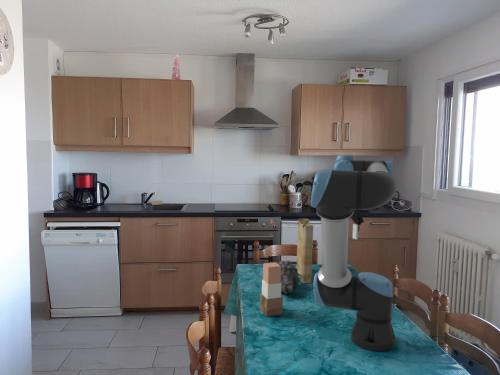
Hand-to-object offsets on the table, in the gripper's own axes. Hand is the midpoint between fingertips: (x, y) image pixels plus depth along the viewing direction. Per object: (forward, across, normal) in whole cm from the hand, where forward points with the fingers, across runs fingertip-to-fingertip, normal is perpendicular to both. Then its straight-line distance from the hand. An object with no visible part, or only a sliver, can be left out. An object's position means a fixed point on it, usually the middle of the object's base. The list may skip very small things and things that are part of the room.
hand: (341, 239), depth 163 cm
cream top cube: (+22, +32, -2) cm, 39 cm away
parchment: (+29, -4, -39) cm, 49 cm away
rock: (+29, +16, -23) cm, 40 cm away
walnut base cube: (+29, +32, -2) cm, 43 cm away
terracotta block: (+16, +32, -2) cm, 36 cm away
